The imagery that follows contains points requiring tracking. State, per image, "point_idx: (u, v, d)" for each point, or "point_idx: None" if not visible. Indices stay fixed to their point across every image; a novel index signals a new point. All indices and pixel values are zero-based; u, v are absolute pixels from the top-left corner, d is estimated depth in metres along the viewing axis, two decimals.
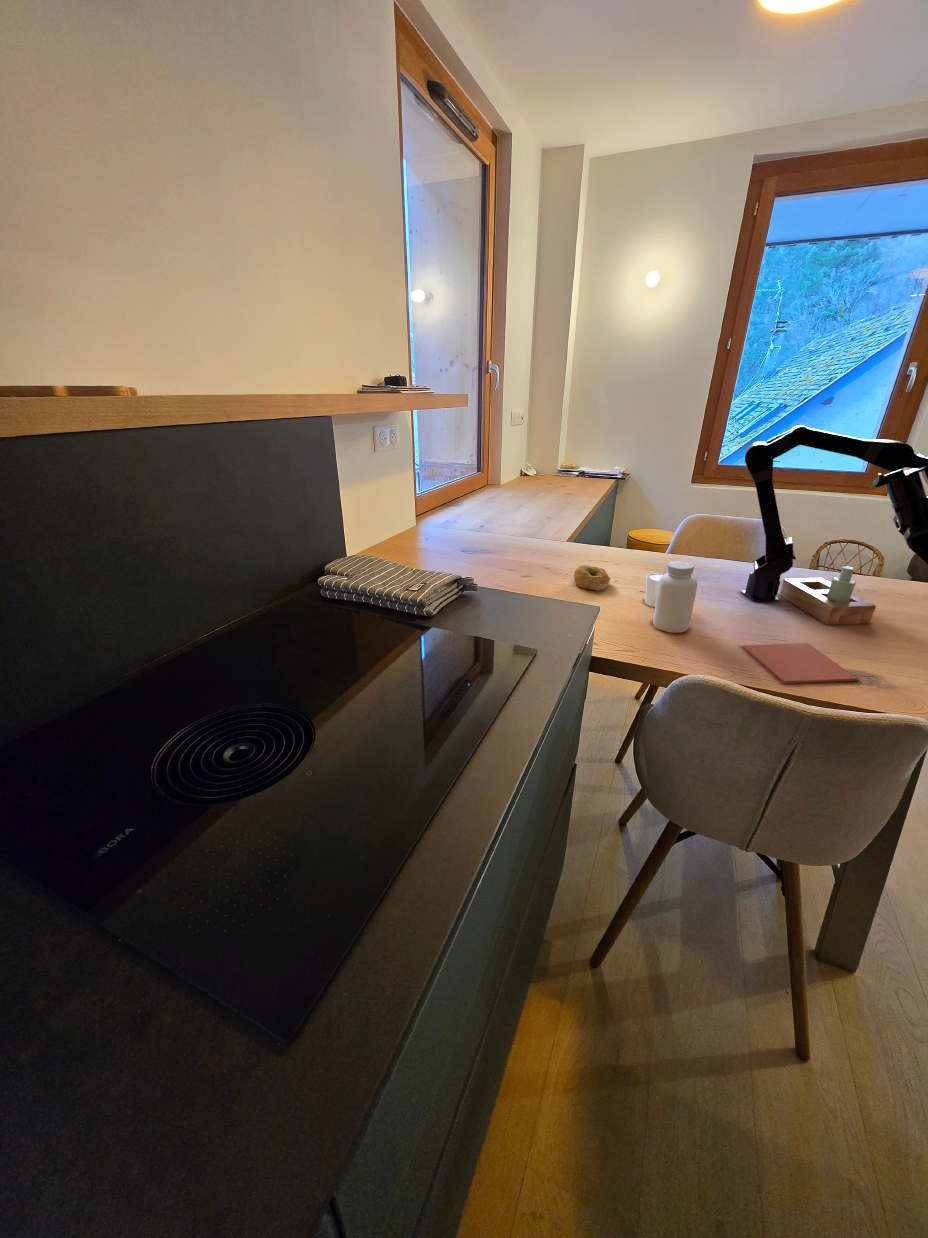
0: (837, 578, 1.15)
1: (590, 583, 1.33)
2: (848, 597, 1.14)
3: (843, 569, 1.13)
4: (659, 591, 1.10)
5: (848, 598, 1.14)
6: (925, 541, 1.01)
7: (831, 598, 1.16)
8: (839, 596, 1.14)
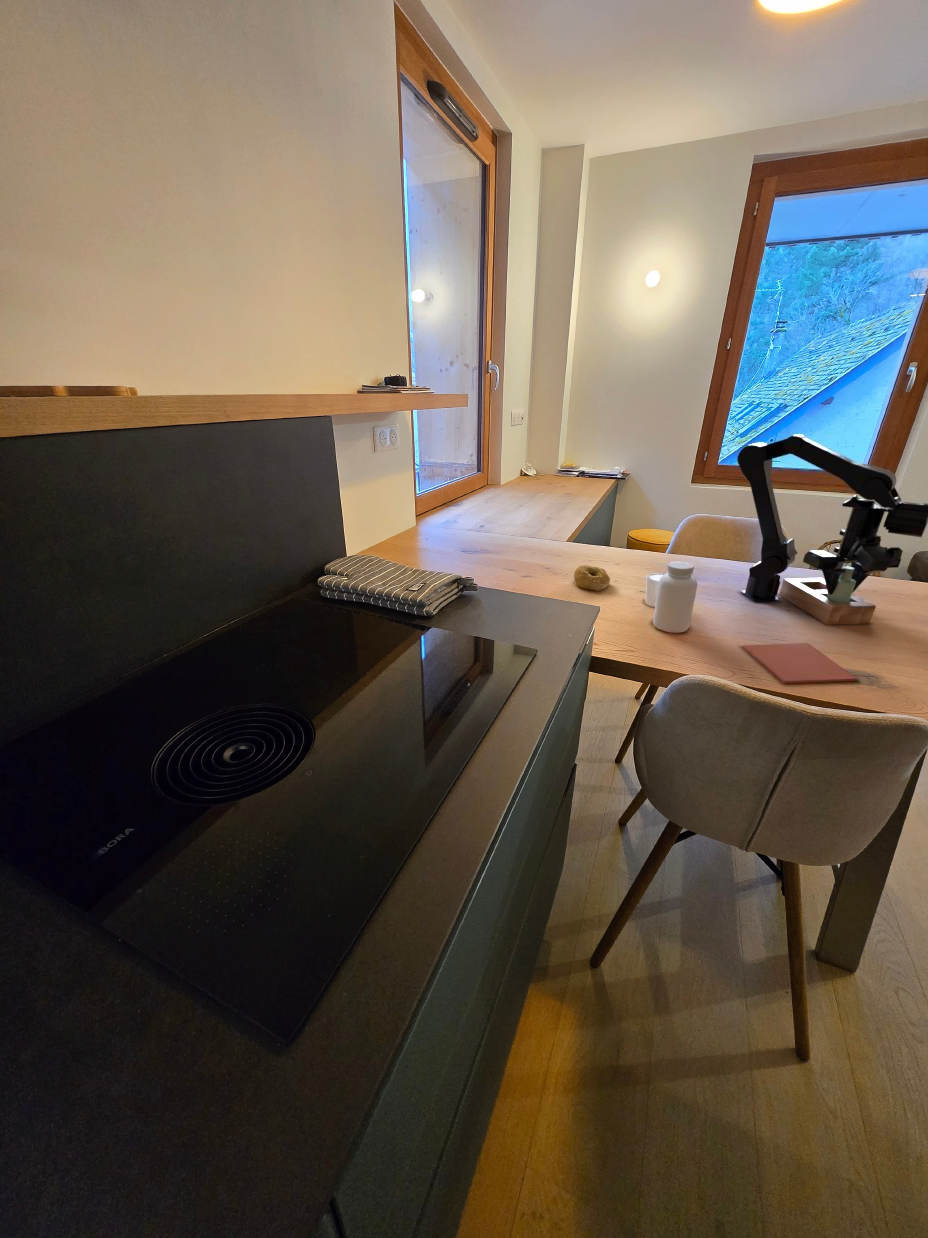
0: None
1: (590, 583, 1.33)
2: (848, 597, 1.14)
3: None
4: (659, 591, 1.10)
5: (848, 598, 1.14)
6: (809, 562, 1.13)
7: (831, 598, 1.16)
8: (839, 596, 1.14)
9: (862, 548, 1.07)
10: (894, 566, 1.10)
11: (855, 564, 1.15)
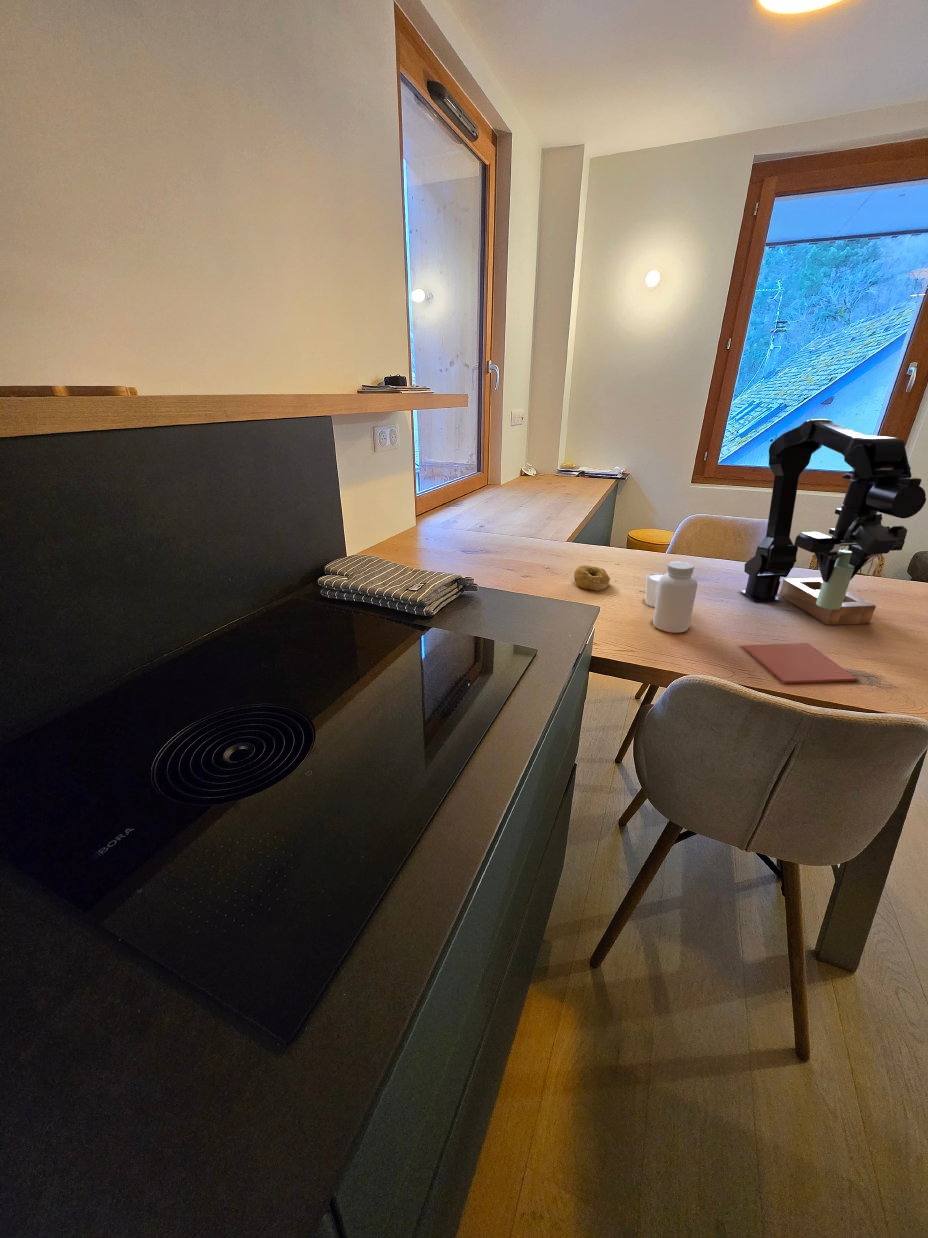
0: None
1: (590, 583, 1.33)
2: (846, 585, 1.01)
3: (840, 552, 1.00)
4: (659, 591, 1.10)
5: (846, 586, 1.01)
6: (801, 545, 0.99)
7: (826, 586, 1.02)
8: (836, 583, 1.01)
9: (861, 527, 0.93)
10: (897, 549, 0.97)
11: (853, 547, 1.01)
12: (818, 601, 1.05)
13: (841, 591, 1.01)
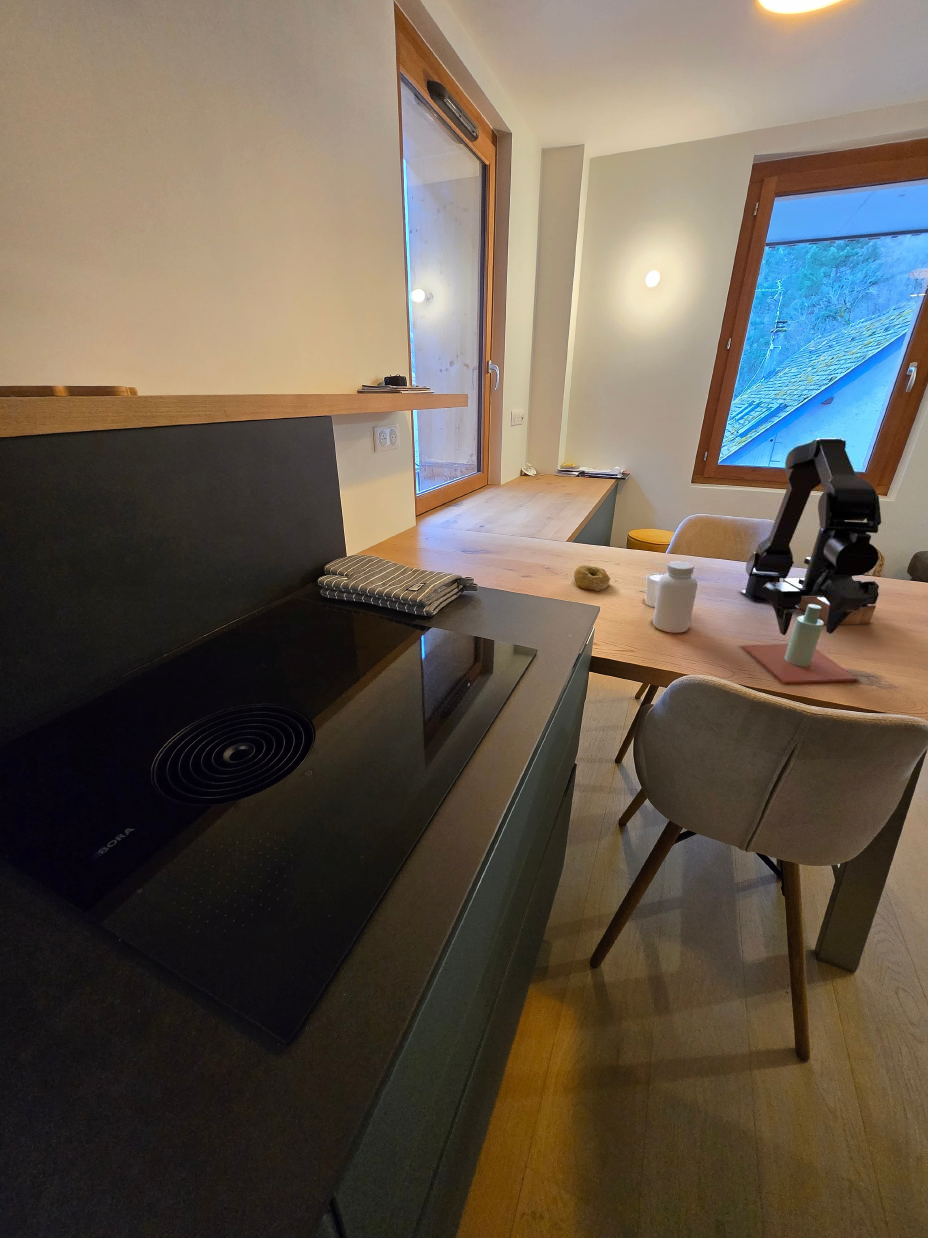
0: (801, 618, 0.95)
1: (590, 583, 1.33)
2: (814, 642, 0.94)
3: (808, 607, 0.93)
4: (659, 591, 1.10)
5: (814, 643, 0.94)
6: (767, 597, 0.92)
7: (794, 642, 0.96)
8: (804, 640, 0.94)
9: (830, 582, 0.86)
10: (870, 602, 0.90)
11: None
12: (786, 656, 0.98)
13: (810, 648, 0.95)
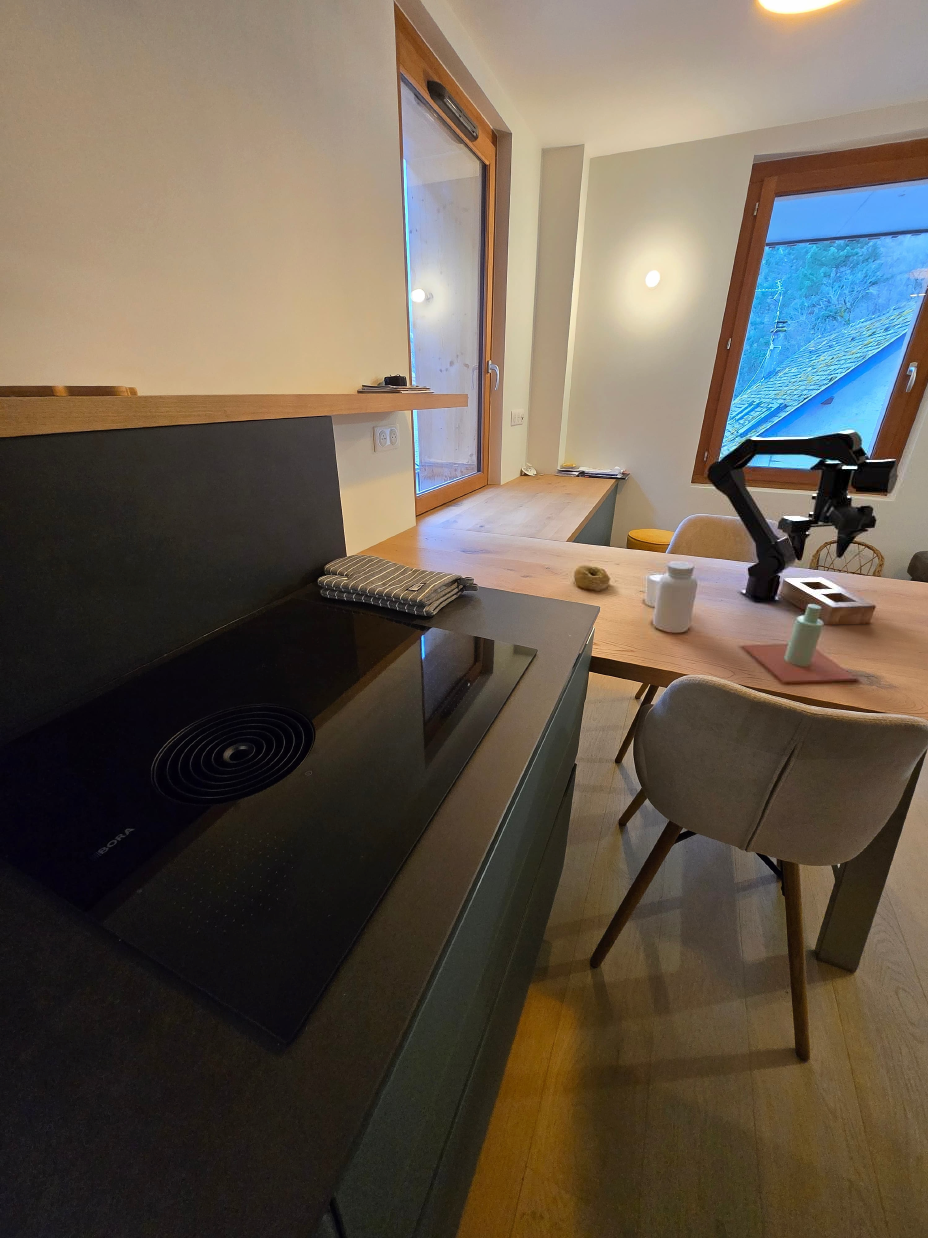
0: (801, 618, 0.95)
1: (590, 583, 1.33)
2: (814, 642, 0.94)
3: (808, 607, 0.93)
4: (659, 591, 1.10)
5: (814, 643, 0.94)
6: (783, 528, 1.13)
7: (794, 642, 0.96)
8: (804, 640, 0.94)
9: (833, 509, 1.07)
10: (870, 526, 1.10)
11: None
12: (786, 656, 0.98)
13: (810, 648, 0.95)
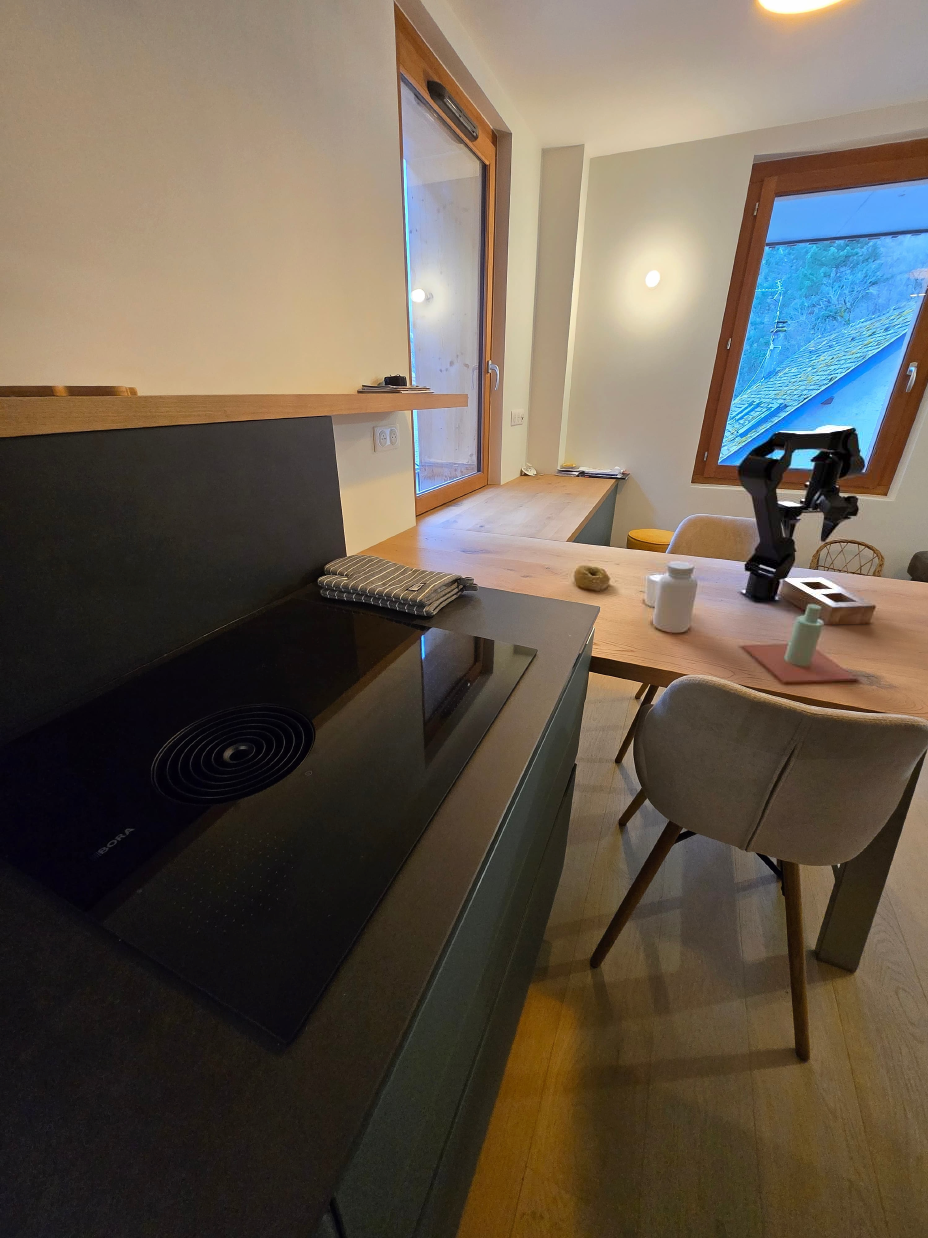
0: (801, 618, 0.95)
1: (590, 583, 1.33)
2: (814, 642, 0.94)
3: (808, 607, 0.93)
4: (659, 591, 1.10)
5: (814, 643, 0.94)
6: None
7: (794, 642, 0.96)
8: (804, 640, 0.94)
9: (823, 497, 1.18)
10: (853, 515, 1.22)
11: None
12: (786, 656, 0.98)
13: (810, 648, 0.95)
